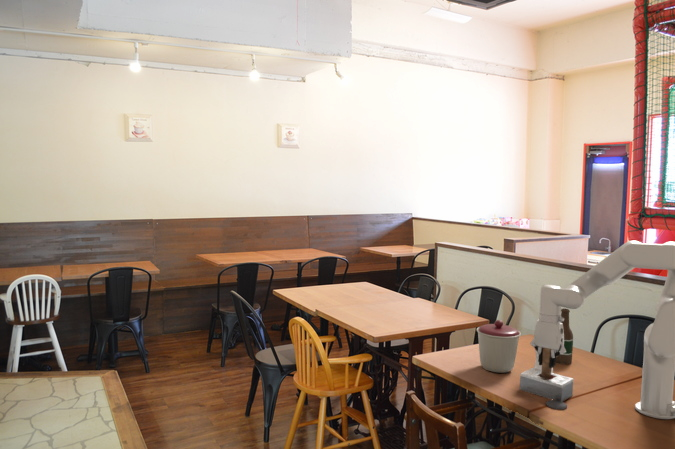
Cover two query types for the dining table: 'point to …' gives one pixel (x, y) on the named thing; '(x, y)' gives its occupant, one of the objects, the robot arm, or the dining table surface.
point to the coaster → (556, 404)
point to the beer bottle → (566, 340)
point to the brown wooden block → (546, 363)
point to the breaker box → (546, 385)
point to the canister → (498, 346)
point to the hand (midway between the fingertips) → (546, 365)
